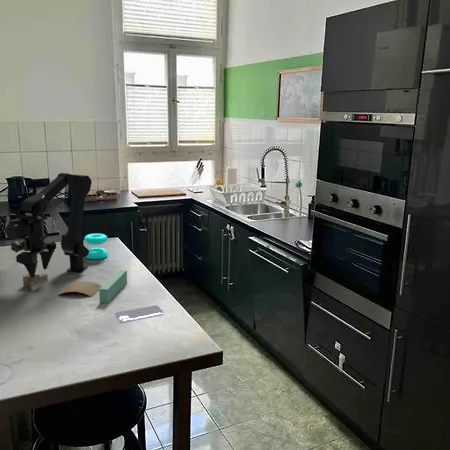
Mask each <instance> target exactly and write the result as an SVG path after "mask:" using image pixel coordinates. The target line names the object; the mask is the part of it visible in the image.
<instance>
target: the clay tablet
mask: <svg viewBox="0 0 450 450" xmlns="http://www.w3.org/2000/svg"><path fill="white" fill-rule="evenodd" d="M102 286H103V285H101V284H98V283H96V282H92V281H87V280H86V281H85V280H84V281H83V280H81V281H76V282H73V283H72V284H70V285H68V286H67V287H66V288H65V289H64V290H63V291H61V292H60V293H59V295H61V294H66V293H74V292H76V293H81V294H84V295H86V296H89V297H90V298H92V297H94V296H95V295H97V293H99V289H100V288H101V287H102Z"/></svg>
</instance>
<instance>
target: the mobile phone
mask: <svg viewBox="0 0 450 450" xmlns="http://www.w3.org/2000/svg"><path fill="white" fill-rule="evenodd" d="M163 315H165V312H164V311H163V309H161V307H160V306H159V305H157V304H156V305H155V304H154V305H150V306H149V305H148V306H145V307H144V306H143V307H138V308H133V309H126V310H121V311H116V312H115V313H114V316H115V318H116V319H117V321H118V322H119V323H127V322H132V321H137V320H141V319H142V320H143V319H147V318H152V317H157V316H163Z"/></svg>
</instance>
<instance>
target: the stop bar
mask: <svg viewBox="0 0 450 450" xmlns="http://www.w3.org/2000/svg"><path fill="white" fill-rule="evenodd" d="M127 283H128V270H127V269H117V271H116V272H115V273H114V274H113V275H112V276H111V277H110V278H109V279H108V280H107V281H106V282H105V283H104V284H103V285H101V286H102V287H101V288H100V289H99V291H98V294H99V303H101V304H109V303H110V302H111V301H112V300H113V299H114V297H116V295H117V294H119V292H120V291H121V290H123V287H124V286H126V284H127Z"/></svg>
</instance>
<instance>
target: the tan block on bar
mask: <svg viewBox="0 0 450 450" xmlns="http://www.w3.org/2000/svg"><path fill="white" fill-rule="evenodd" d="M48 278H49V277H48V274H47V273H43V275H41V276H40V274H37V273H35V276H34V278H31V277H30V275H29V273H26V274H25V275H23V276H22V283H23V285H22V286H23V287H25V288H30V291H31V292H36V291H37V290H38V289H40V288H41V287H42V286H44V285H45V284H47V283H48V282H49V279H48Z"/></svg>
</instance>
